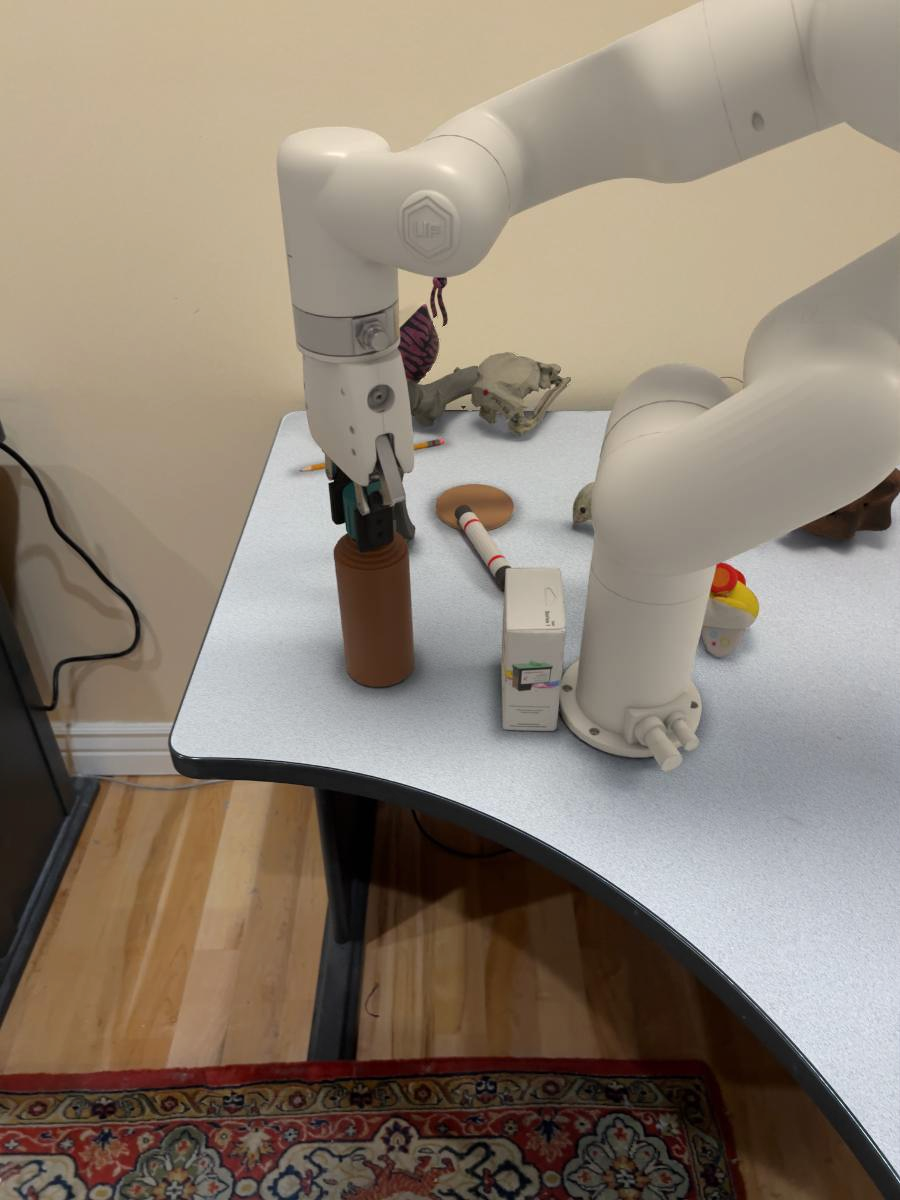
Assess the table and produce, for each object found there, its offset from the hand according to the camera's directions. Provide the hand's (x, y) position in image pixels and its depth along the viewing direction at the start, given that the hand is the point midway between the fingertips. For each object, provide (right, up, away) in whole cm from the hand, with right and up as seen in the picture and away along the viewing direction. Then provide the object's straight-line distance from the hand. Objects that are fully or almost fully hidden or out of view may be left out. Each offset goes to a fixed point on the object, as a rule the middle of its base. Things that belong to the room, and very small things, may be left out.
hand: (362, 530), depth 78 cm
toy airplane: (+36, -8, +8) cm, 38 cm away
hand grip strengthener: (+1, -3, +21) cm, 21 cm away
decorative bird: (+29, +1, +25) cm, 38 cm away
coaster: (+10, +5, +29) cm, 32 cm away
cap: (+1, 0, 0) cm, 1 cm away
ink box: (+14, -15, +6) cm, 21 cm away
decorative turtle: (+51, +3, +19) cm, 55 cm away
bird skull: (+19, +21, +50) cm, 58 cm away
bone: (+7, +27, +46) cm, 54 cm away
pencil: (-2, +13, +38) cm, 40 cm away
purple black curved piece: (-2, +24, +36) cm, 43 cm away
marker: (+11, -2, +22) cm, 25 cm away
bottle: (+1, -12, +9) cm, 15 cm away
